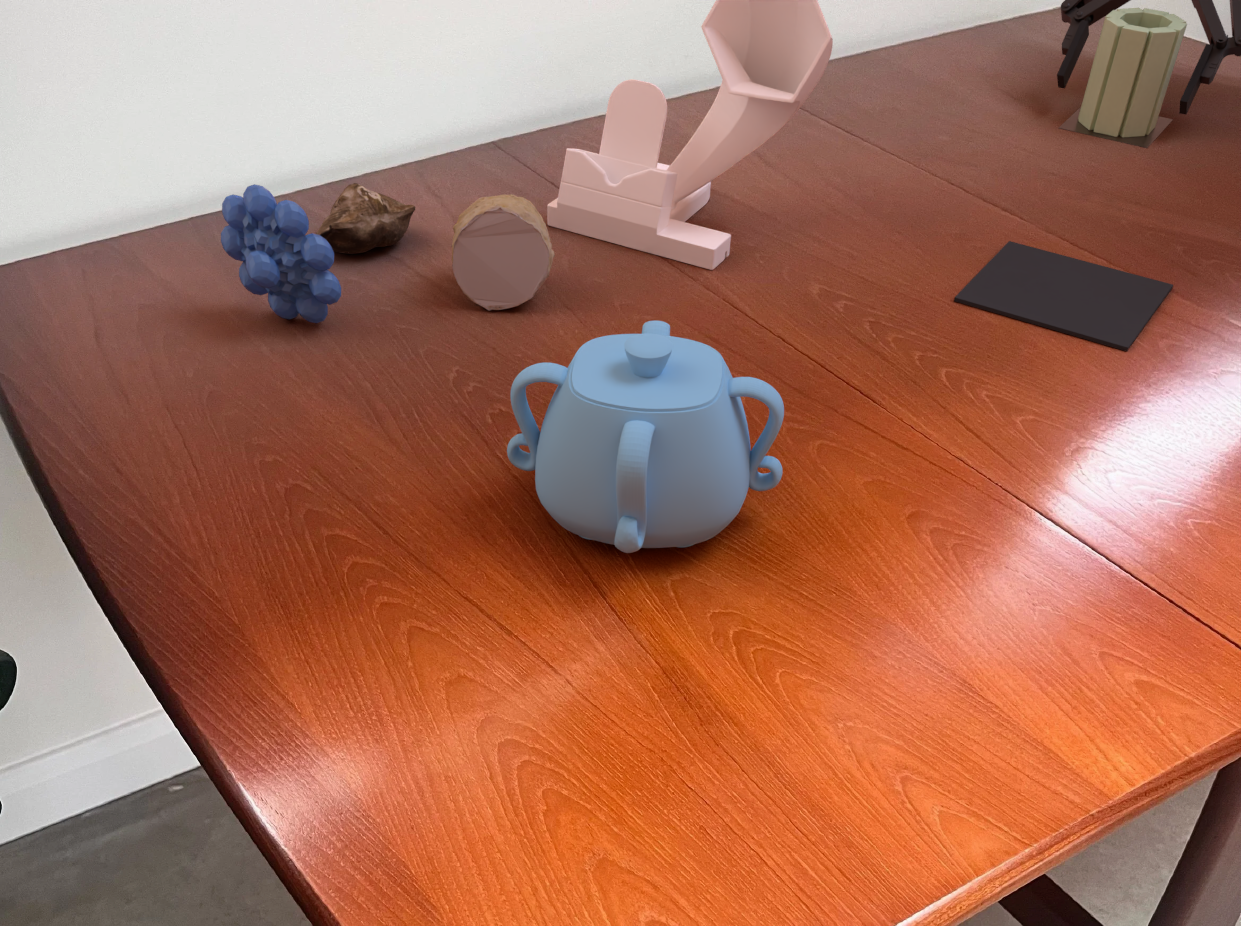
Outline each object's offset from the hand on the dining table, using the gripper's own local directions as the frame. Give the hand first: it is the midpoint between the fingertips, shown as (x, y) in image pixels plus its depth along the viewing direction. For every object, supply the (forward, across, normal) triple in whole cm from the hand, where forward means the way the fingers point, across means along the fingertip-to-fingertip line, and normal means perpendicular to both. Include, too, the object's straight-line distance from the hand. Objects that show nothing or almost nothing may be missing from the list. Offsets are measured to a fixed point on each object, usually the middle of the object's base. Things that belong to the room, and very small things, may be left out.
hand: (1120, 95), depth 142 cm
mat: (+31, +8, -24) cm, 40 cm away
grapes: (+63, -48, -55) cm, 96 cm away
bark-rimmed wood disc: (+52, -35, -44) cm, 76 cm away
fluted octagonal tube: (+1, 0, +4) cm, 4 cm away
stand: (+2, 0, +5) cm, 5 cm away
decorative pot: (+66, -7, -59) cm, 89 cm away
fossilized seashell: (+52, -52, -44) cm, 85 cm away
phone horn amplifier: (+36, -28, -28) cm, 54 cm away
